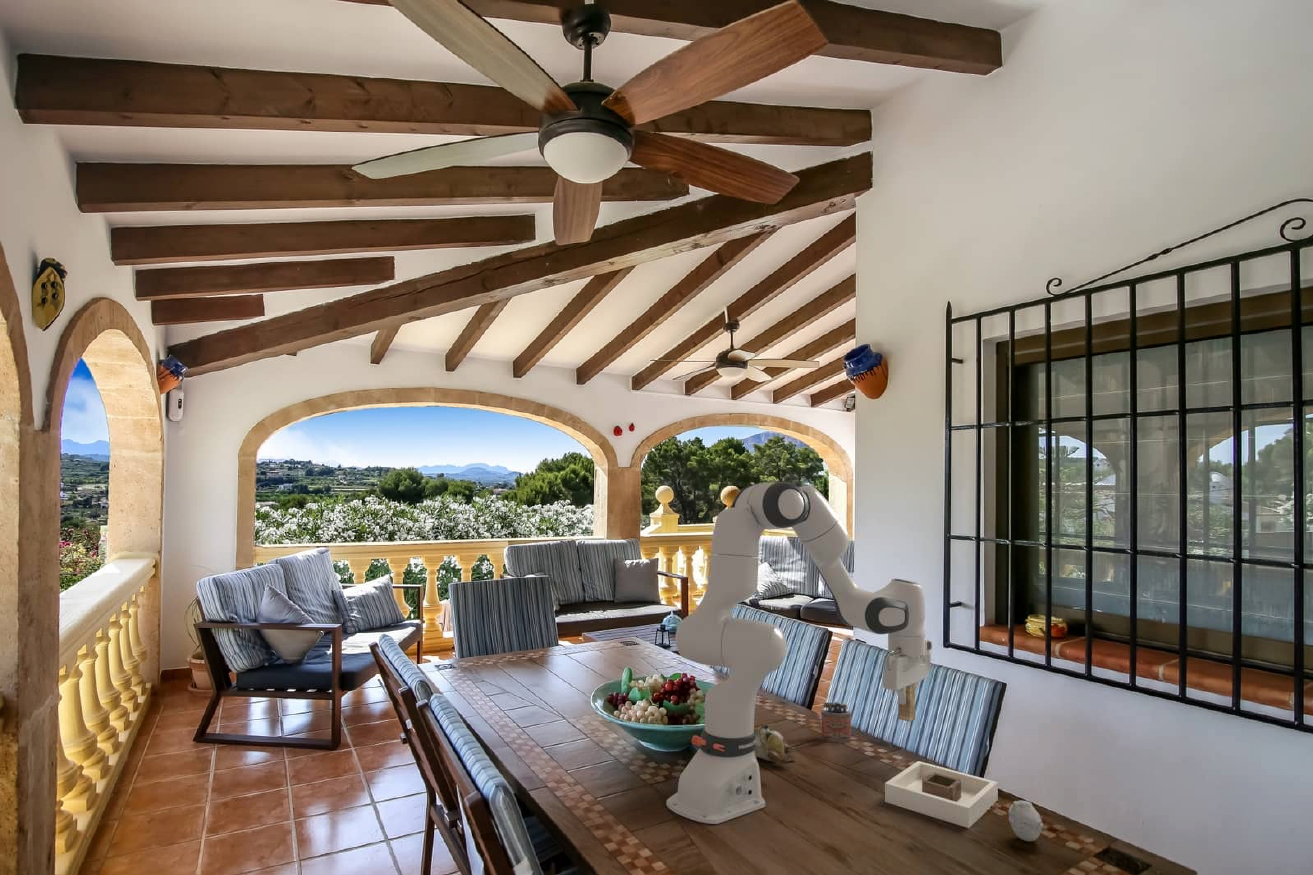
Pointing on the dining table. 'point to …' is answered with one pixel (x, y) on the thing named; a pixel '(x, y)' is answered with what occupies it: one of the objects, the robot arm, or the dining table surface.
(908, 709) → the tan wooden block
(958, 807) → the tray
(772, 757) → the ceramic sculpture
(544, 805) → the dining table surface
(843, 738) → the lighter
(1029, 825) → the grey rounded stone
